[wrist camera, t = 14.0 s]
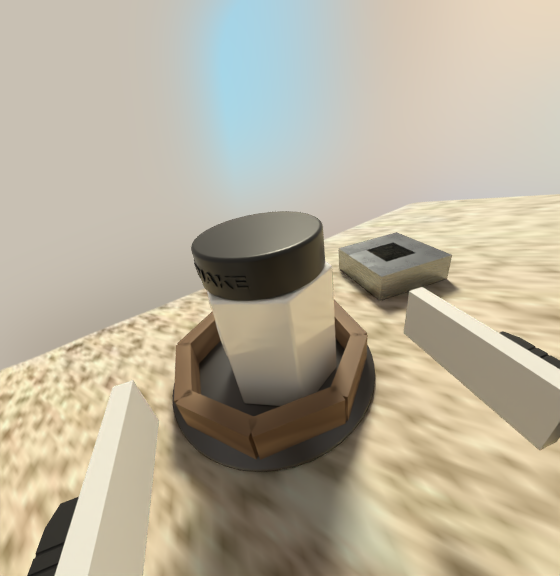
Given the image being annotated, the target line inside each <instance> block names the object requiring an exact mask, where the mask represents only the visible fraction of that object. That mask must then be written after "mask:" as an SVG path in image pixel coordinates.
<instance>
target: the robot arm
mask: <svg viewBox="0 0 560 576" xmlns="http://www.w3.org/2000/svg"><path fill="white" fill-rule="evenodd" d="M404 334H405V335H406V336H408V337H409V338H410V339H411V340H412V341H413V342H415V343H416V344H417V345H418V346H419V347H420V348H422V349H423V350H424V351H425V352H426V353H427V354H428V355H430V356H431V357H432V358H433V359H434V360H435V361H437V362H438V363H439V364H440V365H441V366H442V367H444V368H445V369H446V370H447V371H448V372H449V373H450V374H452V375H453V376H454V377H455V378H456V379H457V380H459V381H460V382H461V383H462V384H463V385H464V386H466V387H467V388H468V389H469V390H470V391H471V392H473V393H474V394H475V395H476V396H477V397H478V398H479V399H481V400H482V401H483V402H484V403H485V404H486V405H488V406H489V407H490V408H491V409H492V410H493V411H495V412H496V413H497V414H498V415H499V416H500V417H501V418H503V419H504V420H505V421H506V422H507V423H508V424H510V425H511V426H512V427H513V428H514V429H515V430H517V431H518V432H519V433H520V434H521V435H522V436H524V437H525V438H526V439H527V440H528V441H529V442H530V443H532V444H533V445H534V446H535V447H536V448H537V449H539V450H541V449H543V448H545V447H547V446H549V445H551V444H553V443H555V442H557V440H558V439H559V438H560V360H558V359H556V358H555V357H553V356H549V355H548V353H546V352H544V351H542V350H541V349H539V348H535V346H534V345H532V344H530V343H528V342H527V341H525V340H523V339H521V338H520V337H517V336H514V335H511V334H509V333H506V332H500V333H498V332H496V331H495V330H493V329H491V328H490V327H488V326H486V325H485V324H483V323H481V322H480V321H478V320H476V319H475V318H473V317H471V316H470V315H468V314H466V313H465V312H463V311H461V310H460V309H458V308H456V307H455V306H453V305H451V304H450V303H448V302H446V301H445V300H443V299H441V298H440V297H438V296H436V295H435V294H433V293H431V292H430V291H428V290H426V289H425V288H423V287H420V288H417V289H414V290H411V291H409V296H408V304H407V311H406V319H405V327H404ZM158 425H159V420H158V418H157V417H156V415H155V413H154V412H153V410H152V409H151V407H150V406H149V404H148V403H147V401H146V400H145V398H144V396H143V395H142V393H141V392H140V390H139V389H138V387H137V386H136V384H135V382H134V381H133V380H132V381H129V382H126V383H123V384H120V385H117V386H114V387H113V388H112V391H111V395H110V398H109V401H108V404H107V408H106V411H105V414H104V417H103V421H102V424H101V427H100V430H99V434H98V437H97V440H96V443H95V447H94V450H93V453H92V456H91V459H90V463H89V466H88V469H87V472H86V476H85V479H84V482H83V485H82V489H81V492H80V495H79V497H77V498H74V499H72V500H69V501H66V502H64V503H61V504H60V506H59V507H58V509H57V510H56V512H55V513H54V515H53V516H52V518H51V520H50V521H49V523H48V524H47V526H46V527H45V530H44V532H43V535H42V538H41V540H40V543H39V546H38V548H37V551H36V557H35V559H33V562H32V565H31V567H30V570H29V573H28V575H27V576H143V571H144V561H145V551H146V542H147V532H148V522H149V513H150V503H151V493H152V483H153V474H154V464H155V454H156V444H157V435H158Z"/></svg>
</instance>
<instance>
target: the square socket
mask: <svg viewBox="0 0 560 576" xmlns="http://www.w3.org/2000/svg"><path fill="white" fill-rule="evenodd" d="M451 257H452V255H451V254H448V253H446V252H443V251H441V250H438V249H436V248H434V247H431V246H429V245H426V244H424V243H421V242H419V241H416V240H414V239H411V238H409V237H407V236H404V235H402V234H399V233H397V232H396V233H393V234H389V235H386V236H382V237H378V238H375V239H371V240H367V241H364V242H360V243H357V244H353V245H349V246H346V247H342V248H339V269H341V270H342V271H343V272H344V273H346V274H347V275H348V276H349V277H351V278H352V279H353V280H355V281H356V282H357V283H358V284H360V285H361V286H362V287H363V288H365V289H366V290H367V291H368V292H370V293H371V294H372V295H373V296H375V297H376V298H377V299H379V300H383V299H386V298H389V297H392V296H396V295H399V294H402V293H405V292H408V291H411V290H414V289H417V288H420V287H423V286H426V285H429V284H432V283H435V282H438V281H441V280H444V279H447V276H448V271H449V267H450V262H451Z"/></svg>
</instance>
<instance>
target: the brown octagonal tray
mask: <svg viewBox="0 0 560 576" xmlns="http://www.w3.org/2000/svg"><path fill="white" fill-rule="evenodd" d="M334 316H335V338H336V360H337V366H336V368H335V370H334V371H333V372H332V373H331V375H330V376H329V377H328V378H327V380H326V381H325V382H324V384H323V385H322V386H321V387H320V389H319V390H318V391H317V392H316V393H313V394H311V395H308V396H306V397H303V398H300V399H298V400H295V401H293V402H290V403H288V404H285V405H282V406H272V405H259V404H246V403H244V401H243V399H242V396H241V393H240V390H239V387H238V384H237V381H236V378H235V376H234V373H233V370H232V367H231V364H230V361H229V358H228V356H227V355H226V352H225V351H224V348H223V345H222V343H221V340H220V337H219V333H218V330H217V326H216V322H215V317H214V315H213V312H211V313H210V314H209V315H208V316H207V317H206V318H205V319H204V320H202V321H201V322H200V323H199V324H198V325H197V326H196V327H195V328H194V329H193V330H192V331H190V332H189V333H188V334H187V335H186V336H185V337H184V338H183V339H182V340H181V341H180V342H178V343H177V344H178V345H176V363H175V383H174V390H173V408H174V412H175V417H176V419H177V422H178V424H179V426H180V429H181V430H182V432H183V433H184V435H185V436H186V438H187V439H188V441H189V442H190V443H191V444H192V445H193V446H194V447H195V448H196V449H197V450H198V451H199V452H200V453H202V454H203V455H205V456H206V457H208V458H209V459H211V460H213V461H215V462H217V463H219V464H222V465H224V466H227V467H231V468H235V469H238V470H245V471H255V472H263V471H278V470H283V469H287V468H292V467H296V466H299V465H302V464H304V463H307V462H310V461H312V460H314V459H316V458H318V457H320V456H322V455H324V454H326V453H327V452H329V451H330V450H332V449H333V448H334V447H336V446H337V445H338V444H340V443H341V442H342V441H343V440H344V439H345V438H346V437H347V436H348V435H349V434H350V433H351V432H352V431H353V430H354V429H355V428H356V426H357V425H358V424H359V422H360V421H361V420H362V418H363V416H364V414H365V412H366V410H367V408H368V407H369V404H370V401H371V398H372V395H373V389H374V382H375V369H374V362H373V358H372V354H371V352H370V349H369V347H368V345H367V333H366V332H365V331H364V330H363V329H362V328H361V327H360V326H359V324H358V323H357V322H356V321H355V320H354V319H353V318H352V317H351V316H350V315H349V314H348V313H347V312H346V311H345V310H344V309H343V308H342V307H341V306H340V305H339V304H338V303H337V302H336V301H335V300H334Z"/></svg>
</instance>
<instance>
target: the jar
mask: <svg viewBox="0 0 560 576" xmlns="http://www.w3.org/2000/svg"><path fill="white" fill-rule="evenodd" d="M191 250H192V254H193V257H194V261H195V263H194V264H195V267H196V270H197V272H198V275H199V277H200V278H201V280H202V283H203V285H204V287H205V289H206V290H207V293H208V298H209V303H210V306H211V309H212V312H213V315H214V317H215V322H216V326H217V330H218V333H219V337H220V340H221V343H222V345H223V348H224V351H225V352H226V355H227V356H228V358H229V361H230V364H231V367H232V370H233V373H234V376H235V378H236V381H237V384H238V387H239V390H240V393H241V396H242V399H243V401H244V403H246V404H259V405H272V406H282V405H285V404H288V403H290V402H293V401H295V400H298V399H300V398H303V397H306V396H308V395H311V394H313V393H316V392H317V391H318V390H319V389H320V387H321V386H322V385H323V384H324V382H325V381H326V380H327V378H328V377H329V376H330V375H331V373H332V372H333V371H334V370H335V368H336V366H337V360H336V338H335V316H334V294H333V271H332V266H331V265H330V264H329V263H328V262H326V261H325V254H324V237H323V226H322V223H321V221H320V220H319V219H318V218H316V217H314V216H312V215H309V214H306V213H301V212H289V211H288V212H287V211H285V212H284V211H282V212H268V213H259V214H253V215H248V216H244V217H240V218H236V219H232V220H229V221H226V222H224V223H221V224H218V225H216V226H214V227H212V228H210V229H208V230H206V231H205V232H203V233H202V234H200V235H199V236H198V237H197V238H196V239H195V240H194V242H193V243H192V247H191Z"/></svg>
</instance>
